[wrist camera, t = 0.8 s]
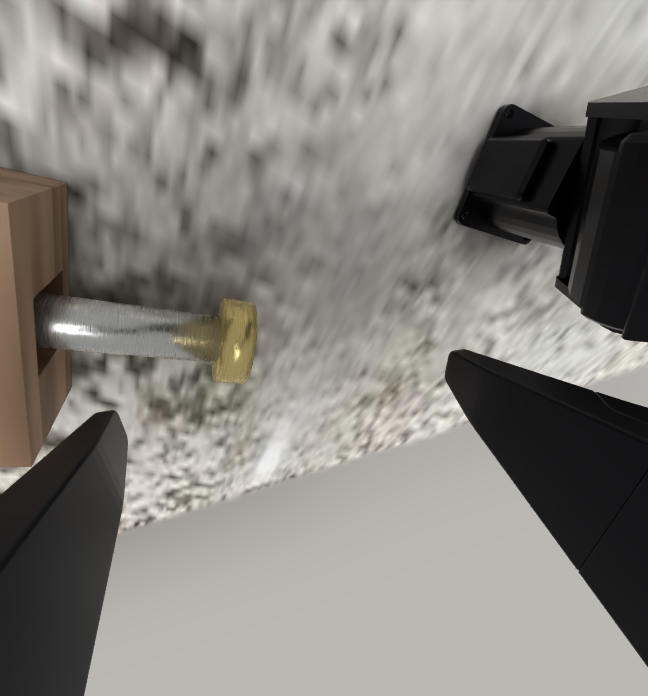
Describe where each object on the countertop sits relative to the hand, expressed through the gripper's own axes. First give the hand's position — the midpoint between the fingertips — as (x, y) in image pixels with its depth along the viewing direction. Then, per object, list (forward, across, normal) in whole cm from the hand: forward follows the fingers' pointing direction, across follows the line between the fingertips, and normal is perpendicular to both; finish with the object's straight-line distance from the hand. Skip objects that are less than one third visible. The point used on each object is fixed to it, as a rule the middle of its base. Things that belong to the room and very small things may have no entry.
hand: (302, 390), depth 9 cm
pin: (+12, +8, +2) cm, 14 cm away
